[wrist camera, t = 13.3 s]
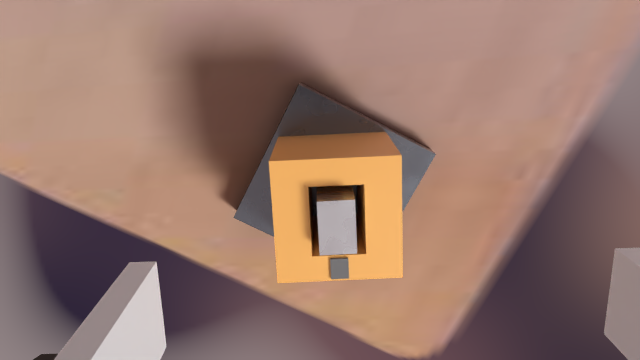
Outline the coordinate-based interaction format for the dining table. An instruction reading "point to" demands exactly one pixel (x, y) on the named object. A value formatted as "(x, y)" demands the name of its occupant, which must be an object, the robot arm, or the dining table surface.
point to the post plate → (325, 123)
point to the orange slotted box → (335, 170)
